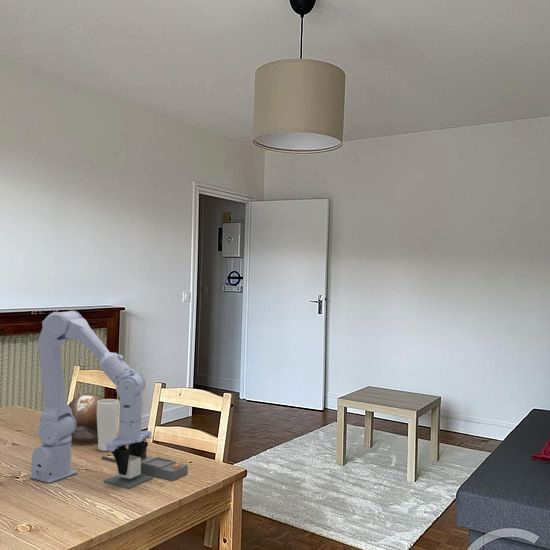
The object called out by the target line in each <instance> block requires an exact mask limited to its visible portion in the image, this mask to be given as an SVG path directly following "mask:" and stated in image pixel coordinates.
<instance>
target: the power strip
mask: <svg viewBox="0 0 550 550" xmlns="http://www.w3.org/2000/svg"><path fill="white" fill-rule="evenodd" d="M127 449H129V446H128V447H127ZM101 459H102V460H105V461H108V462H113V463H116V460H115V458H114V457H109V456H104V455H102V456H101ZM188 467H189V466H188V464H184V463H181V462H176V460H175V459H174V460H173V459H171V458H170V459H169V458H165V457H160V456H156V457H154V456H149V455H147V448H146V449H145V451H144V454H143V456H142V459H141V474H144V475H148V476H152V477H153V478H154V477H155V478H158V479H163V480H168V481H172V482H173V481H175V480H177V479H180V478H182V477H184V476H185V475H188V471H189V468H188Z"/></svg>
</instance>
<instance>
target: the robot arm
mask: <svg viewBox="0 0 550 550" xmlns="http://www.w3.org/2000/svg"><path fill="white" fill-rule="evenodd" d="M41 325H42V328H41V331H40V334H39V337H38V339H37V349H38V350H37V351H38V358H39V367H40V376H41V378H40V379H41V386H42V394H43V396H42V397H43V404H44V405H43V406H44V408H43V411H42V413H41V414H40V417H39V425H38V429H37V436H38V439H39V440H40V441H41V444H40V446H39V445H38V446H37V447H36V448H34V449H33V452H32V455H31V474H30V475H29V478H30V479H32V480H33V479H34V480H37V481H41V482H45V483H48V484H50V483H54V482H56V481H58V480H63V479H65V478H68V477H70V476H72V475H75V474H78V470H75V469H71V465H72V464H71V463H72V462H71V461H72V438H73V436H72V433H73V432H74V431H75V429H76V420H75V418H74V417H73V415H72V410H71V408H70V407H69V406H68V405H69V404H68V403H67V400H66V390H65V382H64V373H63V365H62V356H61V355H62V354H61V346H62V345H63V344H64V342H65V341H66V340H68V339H73V340H77V341H79V342H80V343H81V344H83V345H84V346H85V348H86V349H87V350H89V351H90V352H91V353H92V354H93V355H94V357H95V358H96V359H97V360H98V361H99V368H100V370H101V371H102V372H103V373H104V374H105V375H106V376H107V378H108V379H109V380H110V381H111V382H112V383H113V384H114V385H115V391H116V394H117V395H118V397H119V418H118V436H116V438H115V439H114V440H112V441H110V442H108V443H107V449H106V450H107V451H106V452H111V454H112V456H113V458H114V459H115V460H116V462H115V463H116V465H117V466H116V468H117V467H118V471H119V474H122V475H126V474H127V468H128V460H129V456H130V455H133V456H137V457H141V459H142V456H143V454H144V451H145V449H146V448H147V447H148V446H149V442H148V441H145V440H150V439H152V431H150V430H142V407H143V406H142V403H143V401H142V396H143V394H142V392H143V391H144V390H145V388H146V380H145V378H144V377H143V375H142V374H141V373H138V372H136V371H135V369H134V368H131V367H130V366H129V365H128V364H127V363H126V361H124V356H123V355H122V354H118V353H117V352H112V351H111V352H110V350H109V349H108V348H107V347H106V346H105V344H104V343H103V342H102V341H101V339H100V338H99V337H98V335H97V334H96V333H95V331H94V330H93V329H92V328H91V326H90V325H89V323H88V321H87V320H86V319H85V318H84V317H83V316H82V315H81V313H79V312H78V311H76V310H68V311H61V312H60V311H53V312H51V313H49V314H48V315H47V316H46V317H45V318H44V320H42V321H41ZM127 446H128V447H129V449H128V447H127Z"/></svg>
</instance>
